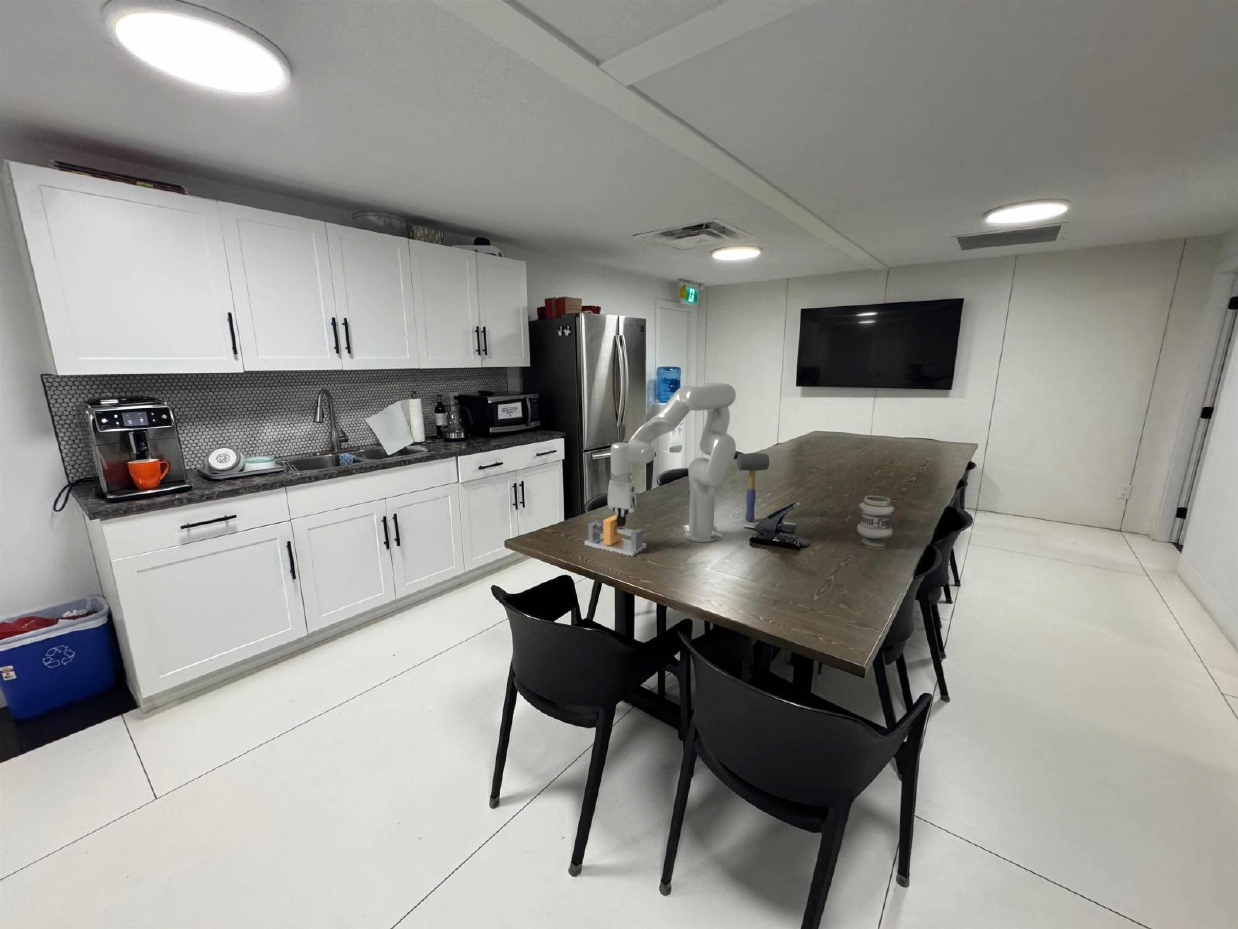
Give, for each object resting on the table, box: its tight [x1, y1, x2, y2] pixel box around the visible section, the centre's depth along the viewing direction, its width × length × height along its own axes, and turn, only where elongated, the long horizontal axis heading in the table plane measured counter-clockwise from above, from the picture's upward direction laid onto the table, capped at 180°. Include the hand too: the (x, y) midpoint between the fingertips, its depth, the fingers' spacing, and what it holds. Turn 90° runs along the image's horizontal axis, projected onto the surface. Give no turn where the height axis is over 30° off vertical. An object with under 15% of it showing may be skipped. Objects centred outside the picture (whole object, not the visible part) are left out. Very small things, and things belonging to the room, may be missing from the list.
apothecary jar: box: [856, 495, 896, 550], centre depth 179 cm, size 12×12×18 cm
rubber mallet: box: [736, 452, 770, 522], centre depth 205 cm, size 12×8×30 cm, turn 90°
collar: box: [602, 514, 624, 545], centre depth 179 cm, size 3×9×9 cm, turn 148°
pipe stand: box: [584, 519, 647, 557], centre depth 179 cm, size 21×10×8 cm, turn 57°
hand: (621, 525), depth 176 cm, fingers closed
